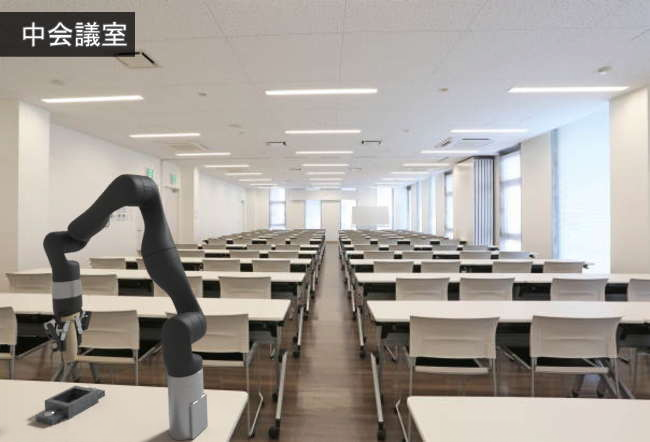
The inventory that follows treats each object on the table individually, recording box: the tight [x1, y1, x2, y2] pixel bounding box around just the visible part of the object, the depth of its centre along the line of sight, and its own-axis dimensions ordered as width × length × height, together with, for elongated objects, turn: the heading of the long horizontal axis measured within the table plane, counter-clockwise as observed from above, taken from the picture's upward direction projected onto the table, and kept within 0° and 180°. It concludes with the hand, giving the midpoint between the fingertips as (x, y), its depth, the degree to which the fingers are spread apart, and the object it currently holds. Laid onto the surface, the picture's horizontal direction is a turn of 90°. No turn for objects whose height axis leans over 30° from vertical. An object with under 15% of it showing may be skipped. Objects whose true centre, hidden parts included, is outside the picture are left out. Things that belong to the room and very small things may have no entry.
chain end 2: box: [70, 385, 106, 418], centre depth 111 cm, size 10×12×4 cm
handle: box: [61, 312, 80, 364], centre depth 108 cm, size 5×6×15 cm
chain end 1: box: [35, 386, 75, 426], centre depth 107 cm, size 10×12×4 cm
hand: (70, 348), depth 108 cm, fingers closed on handle, 4 cm apart
